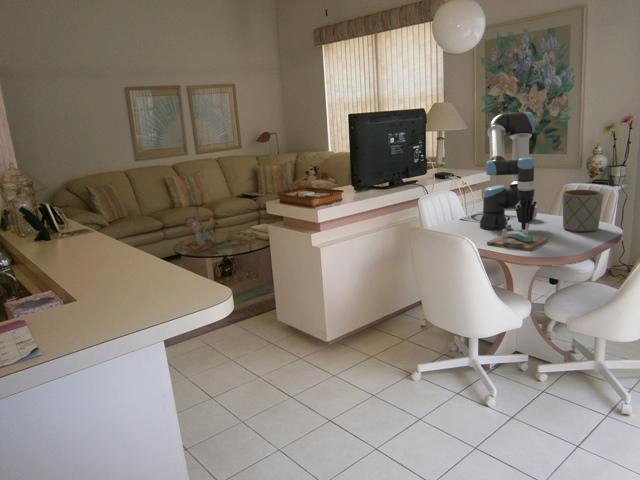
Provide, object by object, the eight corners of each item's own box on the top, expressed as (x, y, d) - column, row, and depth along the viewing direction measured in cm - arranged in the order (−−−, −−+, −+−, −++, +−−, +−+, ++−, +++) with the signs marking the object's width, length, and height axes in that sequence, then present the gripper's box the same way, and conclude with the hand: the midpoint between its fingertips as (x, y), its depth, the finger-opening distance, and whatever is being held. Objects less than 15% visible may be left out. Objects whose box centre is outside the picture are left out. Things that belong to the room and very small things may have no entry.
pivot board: (487, 244, 252) (487, 231, 250) (505, 235, 266) (506, 223, 264) (530, 251, 236) (531, 237, 235) (547, 241, 251) (548, 228, 249)
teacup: (534, 222, 289) (535, 208, 287) (515, 221, 295) (515, 207, 293) (538, 217, 301) (539, 204, 299) (519, 216, 306) (520, 203, 304)
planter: (605, 233, 257) (608, 195, 252) (566, 233, 261) (568, 196, 256) (593, 224, 275) (596, 188, 270) (556, 225, 279) (558, 190, 274)
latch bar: (500, 233, 263) (500, 229, 262) (509, 232, 264) (509, 227, 263) (524, 242, 244) (524, 237, 244) (534, 240, 246) (534, 236, 245)
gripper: (522, 192, 240) (521, 239, 246) (541, 188, 245) (540, 234, 251) (510, 190, 247) (509, 236, 253) (529, 186, 252) (528, 231, 258)
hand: (524, 235), depth 252 cm, fingers closed
